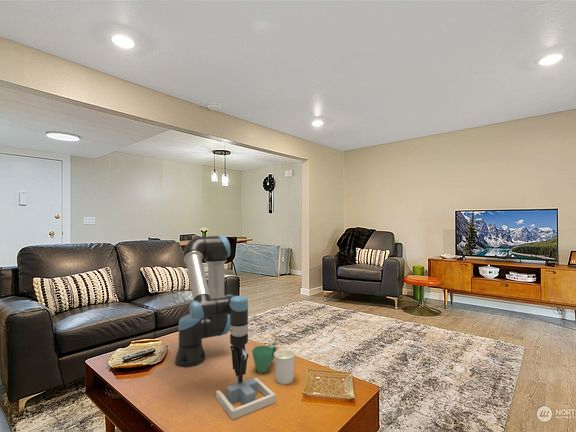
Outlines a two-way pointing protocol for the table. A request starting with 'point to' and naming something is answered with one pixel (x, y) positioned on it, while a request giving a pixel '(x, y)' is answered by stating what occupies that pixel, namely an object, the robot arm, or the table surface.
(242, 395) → the t block
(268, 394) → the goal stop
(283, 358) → the candle holder
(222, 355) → the table surface
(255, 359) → the mug
